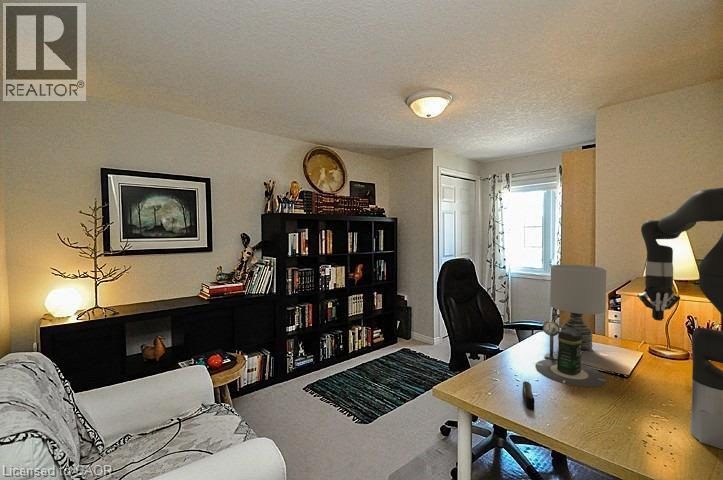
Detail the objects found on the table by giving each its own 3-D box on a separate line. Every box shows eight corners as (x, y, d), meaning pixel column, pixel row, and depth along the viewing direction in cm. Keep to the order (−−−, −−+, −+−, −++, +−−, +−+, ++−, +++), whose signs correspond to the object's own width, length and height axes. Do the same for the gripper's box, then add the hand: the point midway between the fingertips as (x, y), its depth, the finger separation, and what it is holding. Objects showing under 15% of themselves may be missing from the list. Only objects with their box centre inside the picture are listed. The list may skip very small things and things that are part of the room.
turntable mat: (603, 394, 121) (603, 393, 121) (528, 373, 139) (528, 373, 139) (608, 370, 141) (608, 369, 141) (542, 355, 158) (542, 354, 158)
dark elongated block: (536, 398, 110) (529, 378, 125) (526, 397, 111) (520, 377, 126) (535, 412, 111) (528, 390, 125) (526, 411, 112) (520, 389, 126)
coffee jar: (574, 378, 134) (575, 334, 133) (554, 371, 140) (555, 329, 139) (584, 371, 139) (585, 330, 138) (564, 365, 146) (565, 325, 145)
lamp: (594, 360, 151) (596, 272, 149) (541, 345, 171) (542, 267, 169) (611, 348, 165) (613, 267, 164) (561, 335, 185) (562, 263, 183)
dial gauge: (558, 361, 150) (559, 323, 150) (542, 357, 155) (542, 320, 154) (560, 358, 154) (561, 320, 153) (544, 354, 159) (544, 318, 158)
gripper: (672, 272, 120) (670, 317, 121) (632, 272, 123) (631, 316, 123) (688, 275, 113) (686, 324, 113) (645, 275, 115) (644, 322, 116)
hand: (657, 320), depth 118 cm, fingers closed
